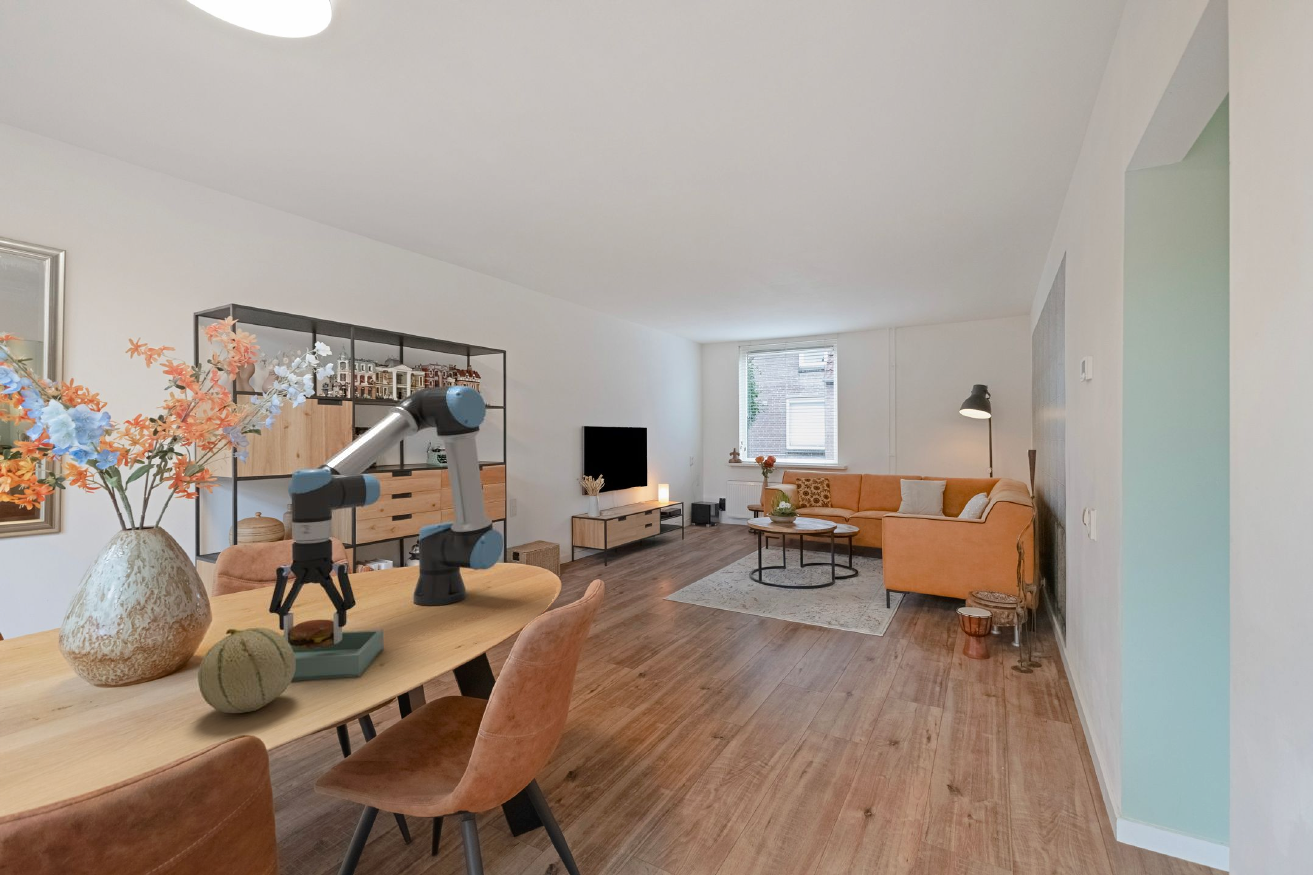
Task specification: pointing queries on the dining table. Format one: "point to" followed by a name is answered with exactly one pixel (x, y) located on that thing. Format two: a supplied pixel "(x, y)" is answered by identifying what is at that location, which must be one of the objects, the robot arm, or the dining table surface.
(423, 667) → the dining table surface
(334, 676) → the teal tray
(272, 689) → the cantaloupe
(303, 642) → the burger
